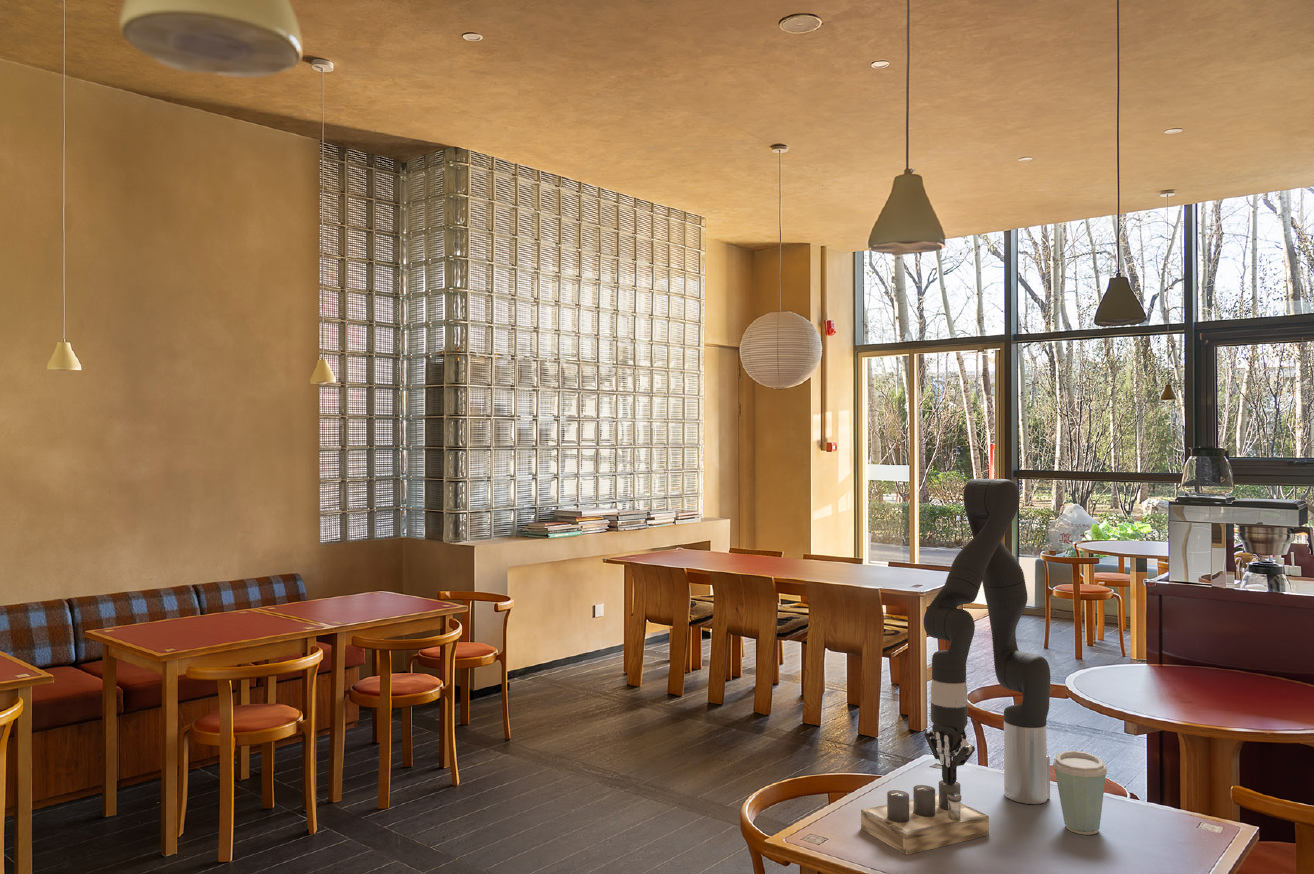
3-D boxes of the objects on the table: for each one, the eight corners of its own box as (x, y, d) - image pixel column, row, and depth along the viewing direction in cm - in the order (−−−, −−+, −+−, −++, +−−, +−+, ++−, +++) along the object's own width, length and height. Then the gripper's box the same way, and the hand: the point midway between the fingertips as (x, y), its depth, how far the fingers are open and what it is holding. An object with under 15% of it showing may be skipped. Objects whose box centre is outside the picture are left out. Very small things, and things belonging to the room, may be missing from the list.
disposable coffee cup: (1115, 841, 185) (1114, 767, 185) (1059, 836, 187) (1058, 763, 187) (1100, 821, 195) (1099, 751, 195) (1047, 817, 197) (1047, 748, 198)
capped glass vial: (954, 814, 188) (954, 792, 188) (964, 819, 186) (964, 796, 186) (944, 817, 187) (944, 794, 187) (954, 821, 184) (954, 798, 184)
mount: (940, 811, 200) (940, 793, 200) (988, 835, 188) (988, 815, 188) (861, 828, 191) (861, 809, 191) (906, 854, 178) (906, 834, 178)
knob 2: (950, 816, 195) (949, 778, 195) (965, 823, 191) (964, 784, 191) (934, 819, 193) (934, 781, 193) (949, 826, 189) (949, 787, 189)
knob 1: (899, 827, 189) (899, 787, 189) (913, 835, 185) (913, 794, 185) (882, 830, 187) (882, 791, 187) (897, 838, 183) (897, 798, 183)
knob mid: (925, 821, 192) (924, 782, 192) (939, 829, 188) (939, 789, 188) (909, 825, 190) (908, 786, 190) (923, 832, 186) (923, 793, 186)
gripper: (985, 706, 189) (985, 790, 188) (940, 692, 200) (940, 770, 200) (958, 710, 185) (958, 796, 185) (914, 695, 197) (914, 775, 197)
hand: (949, 782), depth 192 cm, fingers closed
